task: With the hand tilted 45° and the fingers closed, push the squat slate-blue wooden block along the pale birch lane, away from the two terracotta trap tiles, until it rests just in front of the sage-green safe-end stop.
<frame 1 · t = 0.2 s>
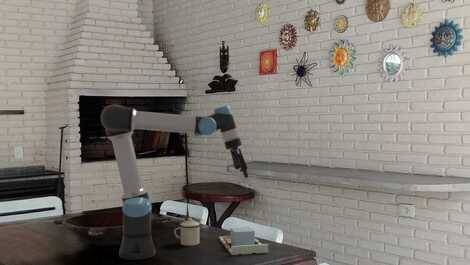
hand: (245, 183, 232), 28 cm above the table, tool tilted 15°, fingers open, 13 cm apart
birch lane: (242, 245, 227), on the table
trap tiles: (237, 240, 237), resting in birch lane
teacup with lid: (187, 243, 232), on the table
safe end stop: (249, 253, 214), on the table
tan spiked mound: (187, 227, 270), on the table
slate block: (242, 237, 227), in the birch lane
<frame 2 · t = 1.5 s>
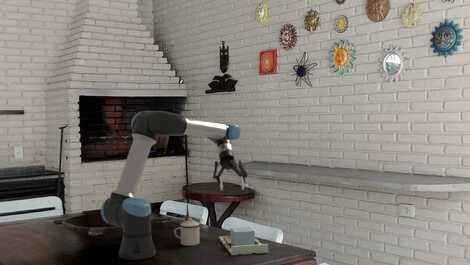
hand: (232, 188, 246), 23 cm above the table, tool tilted 45°, fingers open, 10 cm apart
nothing on the table moved.
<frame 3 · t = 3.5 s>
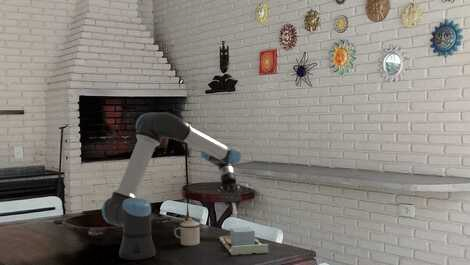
hand: (235, 215, 244), 10 cm above the table, tool tilted 45°, fingers closed
nothing on the table moved.
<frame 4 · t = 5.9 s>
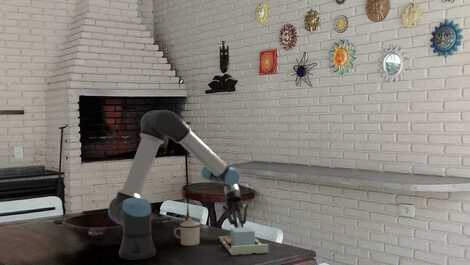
hand: (241, 236, 232), 3 cm above the table, tool tilted 45°, fingers closed
nothing on the table moved.
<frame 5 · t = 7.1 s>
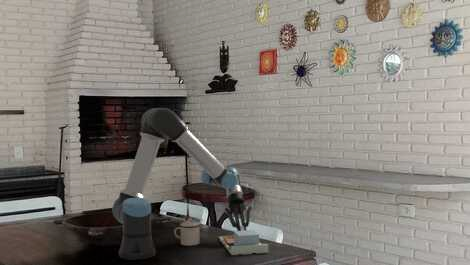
hand: (243, 239, 226), 3 cm above the table, tool tilted 45°, fingers closed
slate block: (246, 241, 220), on the table, touching gripper
everything else where it was.
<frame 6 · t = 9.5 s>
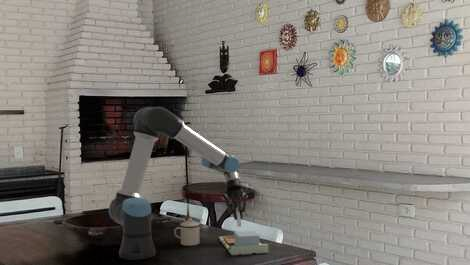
hand: (239, 225, 232), 8 cm above the table, tool tilted 45°, fingers closed
slate block: (246, 242, 219), on the table
everything else where it was.
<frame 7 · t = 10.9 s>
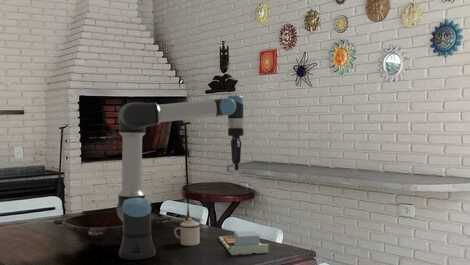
hand: (236, 176, 243), 29 cm above the table, tool pointing down, fingers closed
nothing on the table moved.
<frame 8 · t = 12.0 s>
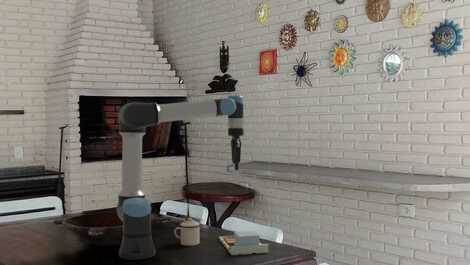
hand: (236, 176, 243), 29 cm above the table, tool pointing down, fingers closed
nothing on the table moved.
at the end: slate block 5.1 cm from the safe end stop (horizontally); slate block tilted 0°; slate block moved 8.5 cm from its start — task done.
